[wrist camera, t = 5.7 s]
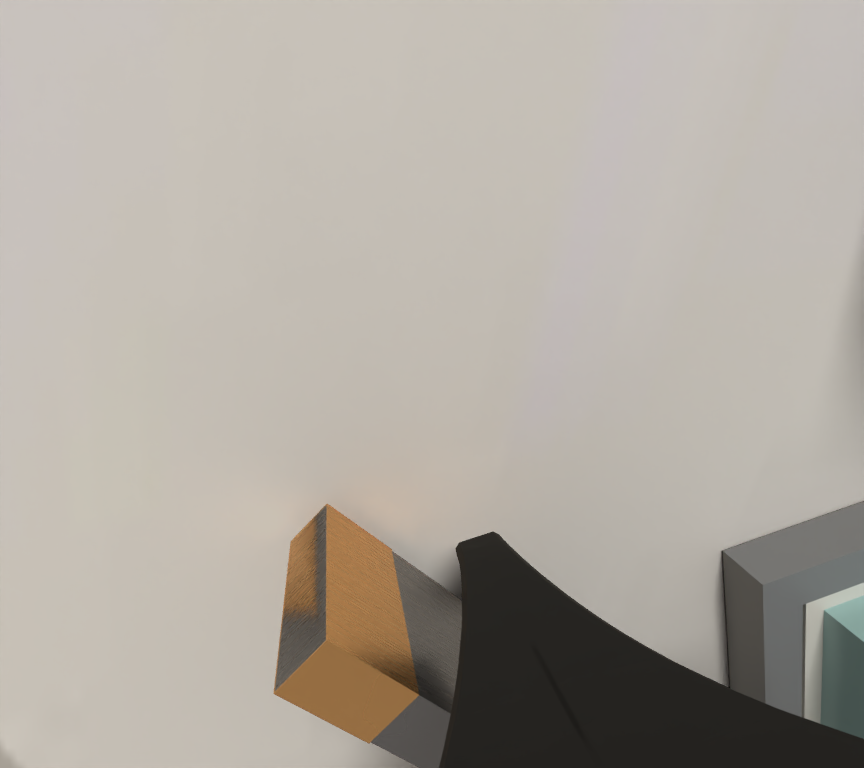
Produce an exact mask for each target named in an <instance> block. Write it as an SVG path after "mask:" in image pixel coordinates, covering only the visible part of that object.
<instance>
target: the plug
mask: <svg viewBox="0 0 864 768" xmlns="http://www.w3.org/2000/svg"><path fill="white" fill-rule="evenodd" d="M801 717H803V718H805V719H808V720H811V721H814V722H817V723H820V724H823V725H825V726H828V727H831V728H834V729H837V730H840V731H843V732H846V733H848V734H851V735H854V736H857V737H860V738H863V739H864V583H861V584H858V585H856V586H853V587H850V588H848V589H845V590H842V591H839V592H837V593H834V594H831V595H828V596H826V597H823V598H820V599H818V600H815V601H812V602H809V603H807V604H804V605H803V628H802V716H801Z"/></svg>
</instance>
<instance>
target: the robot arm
mask: <svg viewBox="0 0 864 768" xmlns="http://www.w3.org/2000/svg"><path fill="white" fill-rule="evenodd" d="M456 553H457V557H458V560H459V564H460V570H461V582H462V628H461V640H460V652H459V663H458V671H457V679H456V685H455V692H454V698H453V704H452V710H451V715H450V720H449V725H448V729H447V734H446V739H445V743H444V748H443V753H442V757H441V761H440V765H439V768H864V739H863V738H860V737H857V736H854V735H851V734H848V733H846V732H843V731H840V730H837V729H834V728H831V727H828V726H825V725H823V724H820V723H817V722H814V721H811V720H808V719H805V718H803V717H800V716H797V715H794V714H791V713H788V712H786V711H783V710H780V709H778V708H775V707H773V706H770V705H768V704H765V703H763V702H761V701H758V700H756V699H753V698H751V697H749V696H746V695H744V694H741V693H739V692H736V691H734V690H732V689H730V688H728V687H726V686H724V685H722V684H720V683H717V682H715V681H713V680H711V679H709V678H707V677H705V676H703V675H701V674H699V673H696V672H694V671H692V670H690V669H688V668H686V667H684V666H682V665H680V664H678V663H676V662H674V661H672V660H670V659H668V658H666V657H665V656H663V655H661V654H659V653H657V652H655V651H654V650H652V649H650V648H648V647H646V646H644V645H643V644H641V643H639V642H638V641H636V640H634V639H633V638H631V637H629V636H628V635H626V634H624V633H623V632H621V631H619V630H618V629H616V628H615V627H613V626H611V625H610V624H608V623H607V622H605V621H604V620H602V619H601V618H599V617H598V616H596V615H595V614H593V613H592V612H590V611H589V610H588V609H586V608H585V607H583V606H582V605H580V604H579V603H578V602H576V601H575V600H574V599H572V598H571V597H570V596H568V595H567V594H565V593H564V592H563V591H562V590H560V589H559V588H558V587H557V586H555V585H554V584H553V583H552V582H550V581H549V580H548V579H547V578H545V577H544V576H543V575H542V574H540V573H539V572H538V571H537V570H536V569H534V568H533V567H532V566H531V565H530V564H529V563H528V562H526V561H525V560H524V559H523V558H522V557H521V556H520V555H519V554H518V553H517V552H516V551H514V550H513V549H512V548H511V547H510V546H509V545H508V544H507V543H506V542H505V541H504V540H503V538H502V537H501V536H500V535H499V534H497V533H495V532H490V533H487V534H484V535H481V536H478V537H475V538H472V539H469V540H466V541H463V542H460V543H459V544H458V546H457V547H456Z"/></svg>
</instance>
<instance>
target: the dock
mask: <svg viewBox="0 0 864 768" xmlns="http://www.w3.org/2000/svg"><path fill="white" fill-rule="evenodd" d="M723 567H724V585H725V603H726V621H727V639H728V657H729V675H730V689H732V690H734V691H736V692H739V693H741V694H744V695H746V696H749V697H751V698H753V699H756V700H758V701H761V702H763V703H765V704H768V705H770V706H773V707H775V708H778V709H780V710H783V711H786V712H788V713H791V714H794V715H797V716H800V717H801V716H802V628H803V605H804V604H807V603H809V602H812V601H815V600H818V599H820V598H823V597H826V596H828V595H831V594H834V593H837V592H839V591H842V590H845V589H848V588H850V587H853V586H856V585H858V584H861V583H864V501H863V502H860V503H857V504H854V505H851V506H849V507H846V508H843V509H840V510H837V511H834V512H831V513H829V514H826V515H823V516H820V517H817V518H814V519H811V520H809V521H806V522H803V523H800V524H797V525H794V526H791V527H789V528H786V529H783V530H780V531H777V532H774V533H772V534H769V535H766V536H763V537H760V538H757V539H754V540H752V541H749V542H746V543H743V544H740V545H737V546H734V547H732V548H729V549H726V550H723Z"/></svg>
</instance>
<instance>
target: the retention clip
mask: <svg viewBox="0 0 864 768" xmlns="http://www.w3.org/2000/svg"><path fill="white" fill-rule="evenodd" d="M461 628H462V600H461V599H459V598H458V597H456V596H455V595H454V594H452V593H451V592H449V591H448V590H447V589H445V588H444V587H442V586H441V585H439V584H438V583H437V582H435V581H434V580H432V579H431V578H430V577H428V576H427V575H425V574H424V573H423V572H421V571H420V570H418V569H417V568H415V567H414V566H413V565H411V564H410V563H408V562H407V561H406V560H404V559H403V558H401V557H400V556H398V555H397V554H396V553H394V552H393V551H392V549H391V548H389V547H388V546H386V545H385V544H384V543H382V542H381V541H379V540H378V539H376V538H375V537H374V536H372V535H371V534H369V533H368V532H367V531H365V530H364V529H362V528H361V527H360V526H358V525H357V524H355V523H354V522H352V521H351V520H350V519H348V518H347V517H345V516H344V515H343V514H341V513H340V512H338V511H337V510H336V509H334V508H333V507H331V506H330V505H328V504H326V505H325V506H324V507H323V508H322V509H321V510H320V511H319V513H318V514H317V515H316V516H315V517H314V518H313V519H312V520H311V521H310V522H309V523H308V524H307V525H306V526H305V527H304V528H303V529H302V530H301V531H300V532H299V533H298V534H297V535H296V537H295V538H294V539H293V540H292V541H291V544H290V553H289V561H288V570H287V579H286V588H285V597H284V606H283V615H282V624H281V632H280V641H279V650H278V659H277V668H276V677H275V686H274V694H275V695H277V696H279V697H281V698H283V699H285V700H287V701H289V702H290V703H292V704H294V705H296V706H298V707H300V708H302V709H304V710H306V711H308V712H310V713H312V714H313V715H315V716H317V717H319V718H321V719H323V720H325V721H327V722H329V723H331V724H333V725H335V726H336V727H338V728H340V729H342V730H344V731H346V732H348V733H350V734H352V735H354V736H356V737H358V738H359V739H361V740H363V741H365V742H367V743H370V742H371V743H373V744H375V745H377V746H379V747H381V748H383V749H385V750H387V751H389V752H391V753H392V754H394V755H396V756H398V757H400V758H402V759H404V760H406V761H408V762H410V763H412V764H413V765H415V766H417V767H419V768H439V765H440V761H441V757H442V753H443V748H444V743H445V739H446V734H447V729H448V725H449V720H450V715H451V710H452V704H453V698H454V692H455V685H456V679H457V671H458V663H459V652H460V640H461Z"/></svg>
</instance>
